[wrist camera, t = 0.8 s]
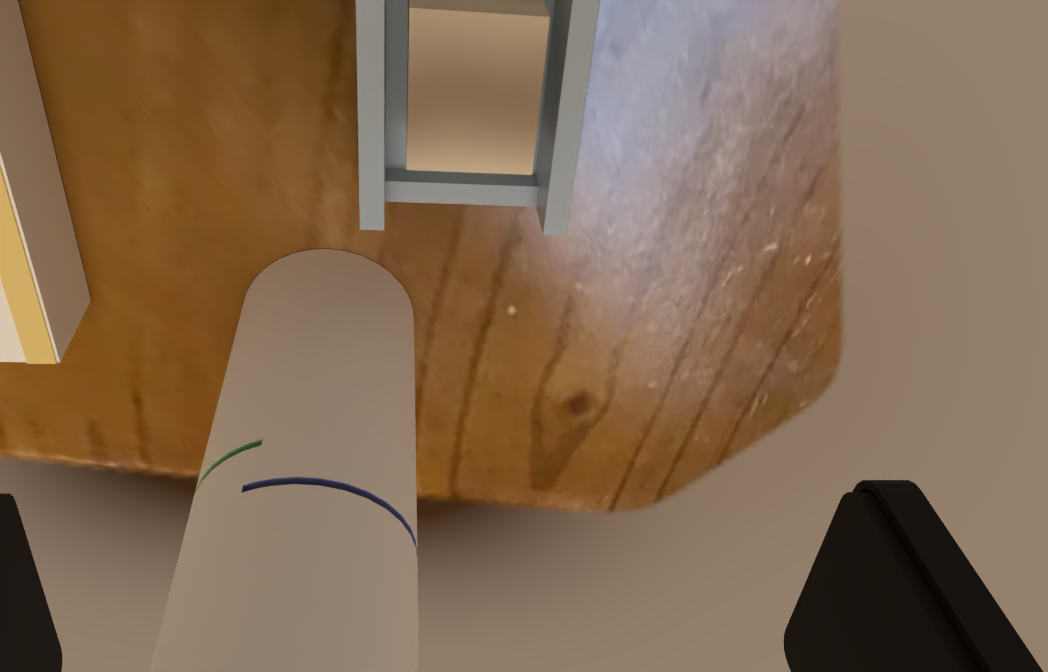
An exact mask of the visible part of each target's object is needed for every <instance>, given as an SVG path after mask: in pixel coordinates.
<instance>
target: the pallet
mask: <svg viewBox="0 0 1048 672" xmlns="http://www.w3.org/2000/svg"><path fill="white" fill-rule="evenodd" d="M408 1H409V0H356V42H357V97H358V151H359V205H360V230H384V223H385V202H414V203H443V204H473V205H502V206H532V207H536V208H537V212H538V216H539V220H540V224H541V228H542V233H543V235H561V236H566V232H567V225H568V218H569V211H570V204H571V197H572V190H573V183H574V176H575V170H576V163H577V156H578V149H579V142H580V135H581V128H582V121H583V114H584V107H585V100H586V94H587V87H588V80H589V73H590V66H591V59H592V52H593V45H594V38H595V31H596V24H597V18H598V11H599V4H600V0H543V1H544V4H545V6H546V9H547V11H548V13H549V16H550V22H549V30H548V39H547V48H546V57H545V66H544V75H543V83H542V92H541V101H540V110H539V119H538V128H537V137H536V145H535V154H534V163H533V172H532V175H520V174H494V173H469V172H443V171H417V170H407V151H406V118H407V59H408Z"/></svg>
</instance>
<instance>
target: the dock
mask: <svg viewBox="0 0 1048 672" xmlns="http://www.w3.org/2000/svg"><path fill="white" fill-rule="evenodd" d="M90 301H91V298H90V294H89V290H88V286H87V282H86V277H85V273H84V269H83V265H82V261H81V257H80V253H79V249H78V245H77V241H76V237H75V232H74V228H73V224H72V220H71V216H70V212H69V208H68V204H67V200H66V196H65V191H64V187H63V183H62V179H61V175H60V171H59V167H58V163H57V159H56V155H55V151H54V146H53V142H52V138H51V134H50V130H49V126H48V122H47V118H46V114H45V110H44V105H43V101H42V97H41V93H40V89H39V85H38V81H37V77H36V73H35V69H34V64H33V60H32V56H31V52H30V48H29V44H28V40H27V36H26V32H25V28H24V24H23V19H22V15H21V11H20V7H19V3H18V0H0V362H27V364H57V362H61V360H62V358H63V355H64V353H65V351H66V349H67V347H68V345H69V343H70V341H71V339H72V337H73V335H74V333H75V331H76V329H77V327H78V325H79V323H80V321H81V319H82V317H83V315H84V313H85V311H86V309H87V307H88V305H89V303H90Z"/></svg>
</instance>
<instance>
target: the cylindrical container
mask: <svg viewBox="0 0 1048 672" xmlns="http://www.w3.org/2000/svg"><path fill="white" fill-rule="evenodd" d="M416 508H417V507H416V437H415V360H414V316H413V308H412V305H411V302H410V299H409V297H408V295H407V293H406V291H405V290H404V288H403V286H402V285H401V284H400V283H399V281H398V280H397V279H396V278H395V277H394V276H393V275H392V274H391V273H390V272H389V271H387V270H386V269H384V268H383V267H382V266H380V265H379V264H378V263H376V262H373V261H371V260H369V259H367V258H365V257H363V256H361V255H357V254H354V253H350V252H346V251H341V250H332V249H315V250H306V251H302V252H297V253H293V254H291V255H288V256H286V257H283V258H281V259H278V260H277V261H275V262H274V263H272V264H271V265H269V266H268V267H266V268H265V269H264V270H263V271H262V272H261V273H260V274H259V275H258V276H257V277H256V278H255V279H254V280H253V282H252V284H251V286H250V287H249V289H248V291H247V293H246V296H245V300H244V303H243V307H242V311H241V315H240V319H239V323H238V327H237V331H236V335H235V338H234V342H233V346H232V350H231V354H230V358H229V362H228V366H227V370H226V374H225V378H224V381H223V385H222V389H221V393H220V397H219V401H218V405H217V409H216V413H215V417H214V421H213V424H212V428H211V432H210V436H209V440H208V444H207V448H206V452H205V456H204V460H203V464H202V467H201V471H200V475H199V479H198V483H197V487H196V492H195V495H194V499H193V503H192V507H191V511H190V515H189V519H188V523H187V527H186V531H185V535H184V539H183V543H182V547H181V551H180V555H179V559H178V562H177V566H176V570H175V574H174V578H173V582H172V586H171V590H170V594H169V598H168V602H167V606H166V610H165V614H164V617H163V621H162V625H161V629H160V634H159V637H158V641H157V645H156V649H155V653H154V657H153V661H152V665H151V669H150V672H419V655H418V654H419V650H418V579H417V578H418V577H417V576H418V575H417V509H416Z"/></svg>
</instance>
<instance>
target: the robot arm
mask: <svg viewBox="0 0 1048 672" xmlns="http://www.w3.org/2000/svg"><path fill="white" fill-rule="evenodd" d="M784 651H785V656H786V659H787V663H788V665H789V668H790V670H791V672H1043V671H1042V669H1041V668H1040V666H1039V665H1038V663H1037V662H1036V660H1035V659H1034V657H1033V656H1032V654H1031V653H1030V651H1029V650H1028V649H1027V647H1026V645H1025V644H1024V643H1023V641H1022V640H1021V638H1020V637H1019V635H1018V634H1017V632H1016V631H1015V629H1014V628H1013V626H1012V625H1011V623H1010V622H1009V620H1008V619H1007V617H1006V616H1005V614H1004V613H1003V611H1002V610H1001V608H1000V607H999V605H998V604H997V603H996V601H995V599H994V598H993V597H992V595H991V594H990V592H989V591H988V589H987V588H986V586H985V585H984V583H983V582H982V580H981V579H980V577H979V576H978V574H977V573H976V571H975V570H974V568H973V567H972V565H971V564H970V562H969V561H968V559H967V558H966V556H965V555H964V553H963V552H962V550H961V549H960V548H959V546H958V545H957V543H956V542H955V540H954V539H953V537H952V536H951V534H950V533H949V531H948V530H947V528H946V527H945V525H944V524H943V522H942V521H941V519H940V518H939V516H938V515H937V514H936V512H935V510H934V509H933V507H932V506H931V504H930V503H929V501H928V500H927V498H926V497H925V496H924V494H923V493H922V491H921V490H920V489H919V487H918V486H917V485H916V484H915V483H913V482H911V481H909V480H865V481H864V480H863V481H861V482H859V483H858V484H857V485H856V487H855V488H854V490H853V492H848V493H846V494H844V495H843V497H842V499H841V500H840V503H839V505H838V507H837V510H836V512H835V514H834V517H833V519H832V522H831V524H830V526H829V529H828V531H827V533H826V536H825V538H824V540H823V543H822V545H821V547H820V550H819V552H818V554H817V557H816V559H815V562H814V564H813V566H812V569H811V571H810V573H809V576H808V578H807V581H806V583H805V585H804V588H803V590H802V592H801V595H800V597H799V599H798V602H797V604H796V607H795V609H794V611H793V614H792V616H791V618H790V620H789V623H788V625H787V628H786V630H785V634H784ZM61 669H62V651H61V646H60V643H59V640H58V637H57V634H56V630H55V627H54V624H53V621H52V617H51V614H50V611H49V608H48V604H47V602H46V598H45V595H44V592H43V588H42V585H41V582H40V579H39V575H38V572H37V569H36V566H35V563H34V560H33V556H32V553H31V550H30V547H29V543H28V540H27V537H26V534H25V530H24V527H23V524H22V521H21V517H20V514H19V511H18V508H17V505H16V502H15V500H14V497H13V496H12V495H11V494H0V672H61Z"/></svg>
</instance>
